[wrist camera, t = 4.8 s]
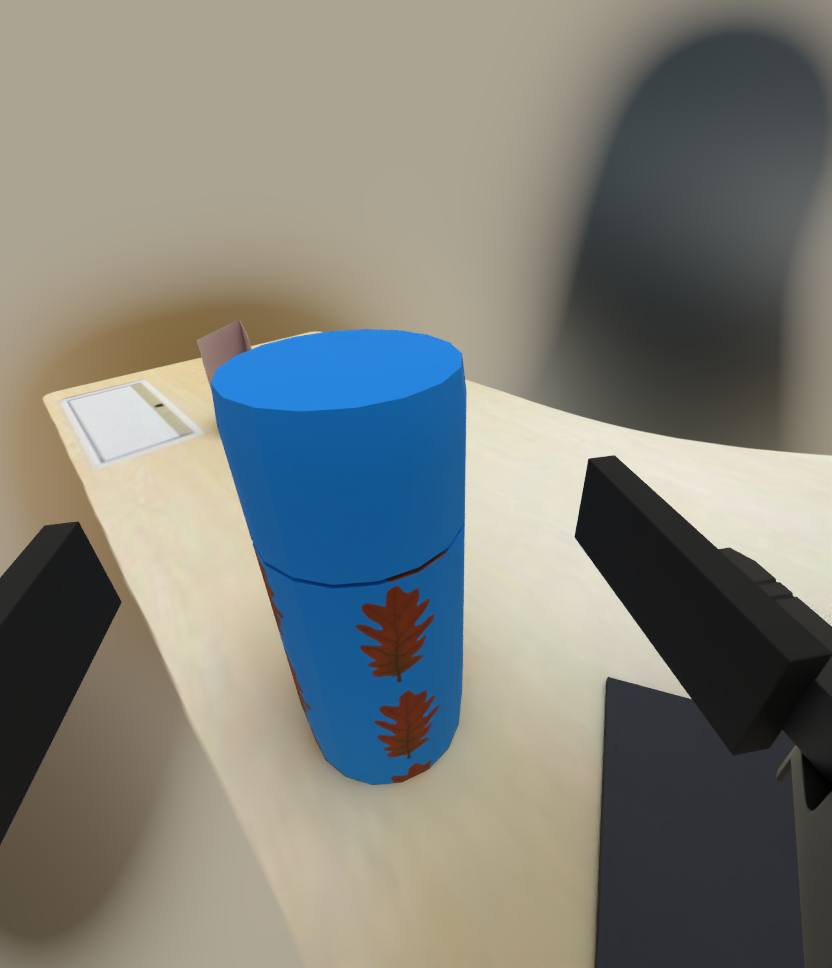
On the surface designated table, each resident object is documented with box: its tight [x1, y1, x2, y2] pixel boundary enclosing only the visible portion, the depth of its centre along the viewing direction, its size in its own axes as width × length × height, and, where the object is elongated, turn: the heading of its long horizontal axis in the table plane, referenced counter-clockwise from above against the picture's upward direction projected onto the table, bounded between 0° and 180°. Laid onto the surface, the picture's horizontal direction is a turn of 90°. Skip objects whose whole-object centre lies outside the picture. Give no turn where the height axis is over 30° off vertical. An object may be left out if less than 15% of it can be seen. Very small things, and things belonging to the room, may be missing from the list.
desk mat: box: [595, 677, 805, 968], centre depth 24 cm, size 17×20×1 cm
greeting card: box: [197, 320, 251, 391], centre depth 71 cm, size 11×7×15 cm, turn 169°
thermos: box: [211, 329, 466, 785], centre depth 27 cm, size 11×11×25 cm
